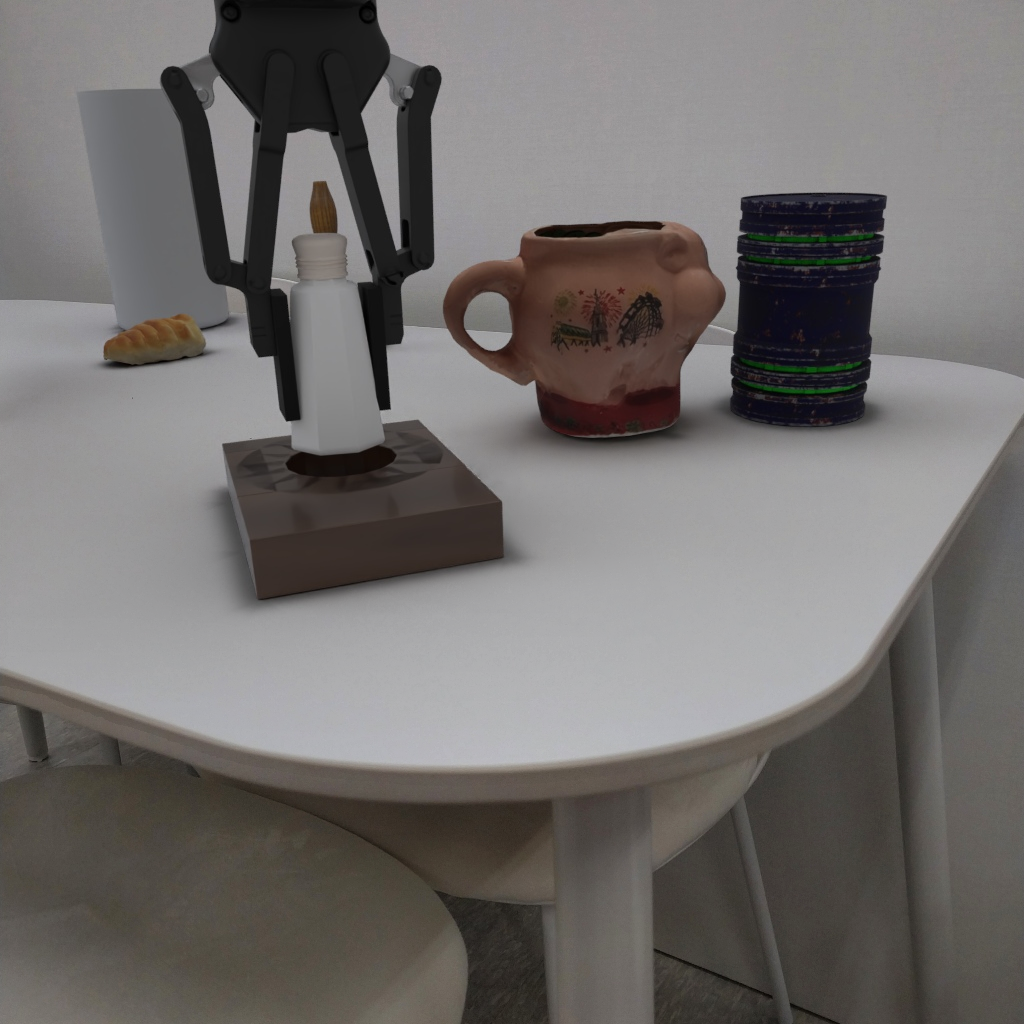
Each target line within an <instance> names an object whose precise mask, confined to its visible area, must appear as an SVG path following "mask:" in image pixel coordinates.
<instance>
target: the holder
mask: <svg viewBox="0 0 1024 1024" xmlns="http://www.w3.org/2000/svg"><path fill="white" fill-rule="evenodd" d="M382 426H383V431H384V437H385V441H384V442H383V443H381V444H379V445H376V446H374V447H371V448H369V449H366V450H363V451H361V452H358V453H346V454H333V455H321V456H320V455H316V454H311V453H306V452H302V451H297V450H294V449H293V448H292V438H291V434H290V435H289V434H288V435H281V436H272V437H264V438H257V439H255V438H254V439H249V440H248V439H247V440H239V441H232V442H224V443H221V448H222V454H223V461H224V469H225V475H226V483H227V491H228V494H229V497H230V501H231V504H232V508H233V512H234V516H235V521H236V524H237V527H238V532H239V536H240V539H241V542H242V546H243V550H244V554H245V557H246V561H247V565H248V569H249V572H250V577H251V580H252V583H253V587H254V591H255V596H256V599H257V600H263V599H268V598H274V597H280V596H286V595H291V594H298V593H302V592H303V593H304V592H309V591H315V590H321V589H325V588H332V587H339V586H344V585H349V584H356V583H361V582H367V581H373V580H378V579H379V580H380V579H384V578H391V577H396V576H402V575H407V574H414V573H419V572H424V571H430V570H435V569H442V568H443V569H444V568H447V567H453V566H458V565H465V564H472V563H477V562H484V561H487V560H493V559H499V558H504V556H505V546H504V544H505V543H504V542H505V541H504V518H503V517H504V514H503V513H504V512H503V501H502V500H501V499H500V498H499V497H498V496H497V495H496V494H495V493H494V491H492V490H491V489H490V488H489V487H488V485H486V484H485V483H484V482H483V481H482V480H481V479H480V478H479V477H478V476H477V475H476V474H475V473H473V472H472V471H471V469H469V468H468V466H466V465H465V463H464V462H463V461H462V460H461V459H460V458H458V456H457V455H456V454H454V453H453V451H451V449H449V448H448V447H447V446H446V445H445V444H444V443H443V442H442V440H440V439H439V438H438V437H437V436H436V435H435V434H434V433H433V432H432V431H431V430H430V429H429V428H427V426H425V425H424V423H422V422H421V420H419V419H410V420H403V421H402V420H401V421H393V422H386V423H382Z"/></svg>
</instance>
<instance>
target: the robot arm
mask: <svg viewBox="0 0 1024 1024" xmlns="http://www.w3.org/2000/svg"><path fill="white" fill-rule="evenodd" d="M377 3H378V2H377V0H213V6H214V14H215V27H214V31H213V35H212V37H211V40H210V42H209V47H208V53H206V54H205V55H202V56H200V57H198V58H195V59H193V60H191V61H189V62H187V63H184V64H182V65H180V66H175V65H170V66H166V67H165V68H164V69H162V72H161V74H160V77H159V85H160V89H162V90H163V92H164V94H165V96H166V98H167V100H168V102H169V104H170V106H171V107H172V109H173V111H174V113H175V115H176V117H177V119H178V121H179V123H180V127H181V133H182V139H183V145H184V151H185V157H186V163H187V169H188V175H189V181H190V187H191V193H192V199H193V205H194V211H195V217H196V223H197V229H198V235H199V241H200V247H201V252H202V258H203V264H204V269H205V272H206V274H207V276H208V278H209V279H210V280H211V281H212V282H213V283H215V284H218V285H225V286H226V287H229V288H232V289H236V290H238V291H240V292H241V293H242V294H243V296H244V301H245V309H246V318H247V325H248V326H247V327H248V332H249V343H250V345H251V347H252V348H253V351H254V352H255V354H256V356H257V358H258V359H259V358H260V359H261V358H271V357H273V363H274V366H273V367H274V375H275V383H276V390H277V391H276V392H277V399H278V407H279V408H278V409H279V411H280V412H281V415H282V417H283V419H284V421H285V422H287V423H288V422H291V421H297V420H300V410H299V401H298V392H297V383H296V373H295V364H294V355H293V346H292V336H291V327H290V307H289V301H288V295H287V293H285V292H284V291H283V289H281V288H279V287H278V288H277V287H276V288H271V287H272V278H273V269H274V268H273V267H274V258H275V257H274V256H275V247H276V238H277V237H276V236H277V229H278V228H277V227H278V218H279V209H280V207H279V206H280V196H281V188H282V178H283V166H284V158H285V154H286V149H287V143H288V134H297V133H299V132H303V131H305V130H311V131H315V132H319V133H328V137H329V140H330V143H331V146H332V148H333V150H334V152H335V155H336V157H337V161H338V164H339V168H340V173H341V175H342V179H343V182H344V185H345V189H346V193H347V197H348V200H349V204H350V206H351V211H352V214H353V217H354V220H355V224H356V227H357V231H358V235H359V239H360V241H361V245H362V249H363V253H364V256H365V259H366V262H367V266H368V270H369V273H370V274H371V278H372V280H371V281H359V282H356V284H357V287H358V292H359V297H360V302H361V307H362V313H363V318H364V324H365V330H366V335H367V341H368V347H369V352H370V358H371V364H372V369H373V375H374V381H375V390H376V398H377V402H378V406H379V410H380V412H381V411H391V410H392V406H391V395H390V394H391V392H390V380H389V379H390V378H389V367H388V366H389V364H388V363H389V362H388V351H387V346H394V345H402V342H403V339H404V336H405V332H404V331H405V330H404V329H405V328H404V317H403V313H404V312H403V300H402V286H403V283H404V282H405V280H406V279H407V278H408V277H410V276H411V275H414V274H416V273H419V272H421V271H427V270H430V268H432V266H433V265H434V263H435V226H434V225H435V224H434V223H435V221H434V184H433V145H432V143H433V142H432V141H433V139H432V115H433V112H434V110H435V105H436V102H437V98H438V96H439V93H440V89H441V86H442V82H443V81H442V79H443V76H442V72H441V70H439V69H438V67H437V66H435V65H432V64H428V65H423V66H421V65H418V64H416V63H413V62H412V61H409V60H407V59H405V58H402V57H400V56H398V55H395V54H393V53H391V48H390V45H389V42H388V41H387V39H386V37H385V36H384V33H383V30H382V29H381V27H380V23H379V17H378V4H377ZM218 77H220V79H221V80H222V81H223V82H224V84H225V85H227V87H228V88H229V89H230V91H231V93H233V95H234V96H235V97H236V98H237V99H238V101H239V102H240V103H241V104H242V105H243V107H244V108H245V110H246V111H247V112H248V113H249V115H250V116H251V117H252V118H253V119H254V123H253V133H252V134H253V135H252V154H251V155H252V156H251V168H250V178H249V188H248V201H247V211H246V212H247V213H246V221H245V222H246V223H245V234H244V246H243V255H242V262H241V261H237V260H234V259H231V254H230V248H229V241H228V235H227V228H226V221H225V216H224V209H223V202H222V196H221V190H220V184H219V176H218V171H217V165H216V158H215V153H214V152H215V151H214V146H213V145H214V144H213V138H212V133H211V128H210V123H209V120H208V116H207V113H206V110H208V109H209V108H211V107H212V106H213V105H214V103H215V98H216V97H215V92H214V82H215V80H216V78H218ZM383 78H384V79H386V81H387V83H388V87H389V91H388V93H389V99H390V101H391V103H392V104H394V105H395V106H396V107H397V111H396V112H397V114H396V150H397V151H396V153H397V177H398V178H397V179H398V181H397V182H398V204H399V205H398V206H399V229H400V230H399V231H400V248H399V249H397V248H396V244H395V241H394V237H393V233H392V229H391V226H390V222H389V219H388V216H387V212H386V208H385V204H384V201H383V197H382V194H381V190H380V186H379V182H378V179H377V175H376V171H375V167H374V164H373V160H372V157H371V153H370V149H369V139H368V135H367V131H366V127H365V123H364V119H363V115H362V113H363V111H364V109H365V108H366V106H367V104H368V103H369V101H370V99H371V98H372V96H373V95H374V92H375V90H377V88H378V85H379V84H380V82H381V80H382V79H383Z"/></svg>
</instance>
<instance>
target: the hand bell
mask: <svg viewBox="0 0 1024 1024" xmlns="http://www.w3.org/2000/svg"><path fill="white" fill-rule="evenodd" d="M309 218H310V225H311V229H312V234H313V233H338V227H339V223H338V212H337V207H336V203H335V200H334V198H333V195H332V193H331V190H330V188H329V186H328V182H327V181H326V180H316V181H315V180H314V181H313V182H312V191H311V194H310V201H309Z"/></svg>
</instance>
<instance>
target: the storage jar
mask: <svg viewBox="0 0 1024 1024" xmlns="http://www.w3.org/2000/svg"><path fill="white" fill-rule="evenodd" d="M887 202H888V195H886V194H882V193H881V194H880V193H870V192H869V193H867V192H834V191H833V192H787V193H784V192H783V193H767V194H766V193H765V194H753V195H746V196H741V197H740V209H739V210H740V211H741V218H740V219H739V227H738V231H739V232H740V233H742V234H740V235H738V236H736V237H737V241H736V253H737V254H738V255H739V256H738V257H737V265H736V267H735V270H736V279H737V281H738V283H739V286H738V287H739V288H738V289H739V291H738V305H737V307H738V308H737V327H736V331H735V332H734V334H733V340H732V354H733V355H732V356H731V357H730V370H729V371H730V372H729V373H730V376H732V378H731V381H730V387H731V389H732V395H731V397H730V398H729V409H730V410H731V412H733V413H734V414H736V415H737V416H740V417H741V418H745V419H747V420H751V421H755V422H759V423H764V424H771V425H778V426H786V427H787V426H788V427H789V426H790V427H791V426H792V427H824V426H825V427H827V426H837V425H842V424H846V423H847V424H848V423H851V422H854V421H857V420H859V419H861V418H862V417H863V416H864V415H865V412H866V402H865V400H864V399H865V394H866V393H867V391H868V383H867V381H868V380H870V378H871V371H872V369H871V368H872V360H871V359H870V357H871V354H872V345H873V344H872V343H873V337H872V335H871V333H870V331H871V330H870V329H871V320H872V312H873V303H874V302H873V300H874V293H875V292H874V290H875V284H876V282H877V281H878V280H879V277H880V271H881V270H882V267H881V259H882V257H880V256H879V255H881V254H883V252H884V243H885V235H883V234H882V232H883V231H884V229H885V220H886V218H884V210H886V208H887ZM880 233H881V234H880Z"/></svg>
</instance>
